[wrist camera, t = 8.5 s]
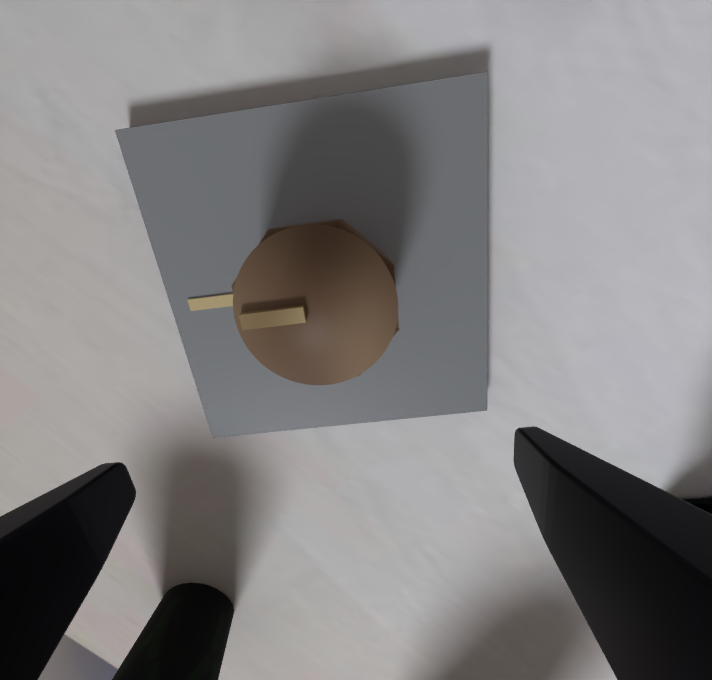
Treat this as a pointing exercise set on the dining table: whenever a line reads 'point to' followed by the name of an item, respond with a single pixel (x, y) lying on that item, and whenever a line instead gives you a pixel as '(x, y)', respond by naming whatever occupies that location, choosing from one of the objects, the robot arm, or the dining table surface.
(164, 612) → the cup
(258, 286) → the knob
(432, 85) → the base plate
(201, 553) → the dining table surface
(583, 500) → the robot arm
